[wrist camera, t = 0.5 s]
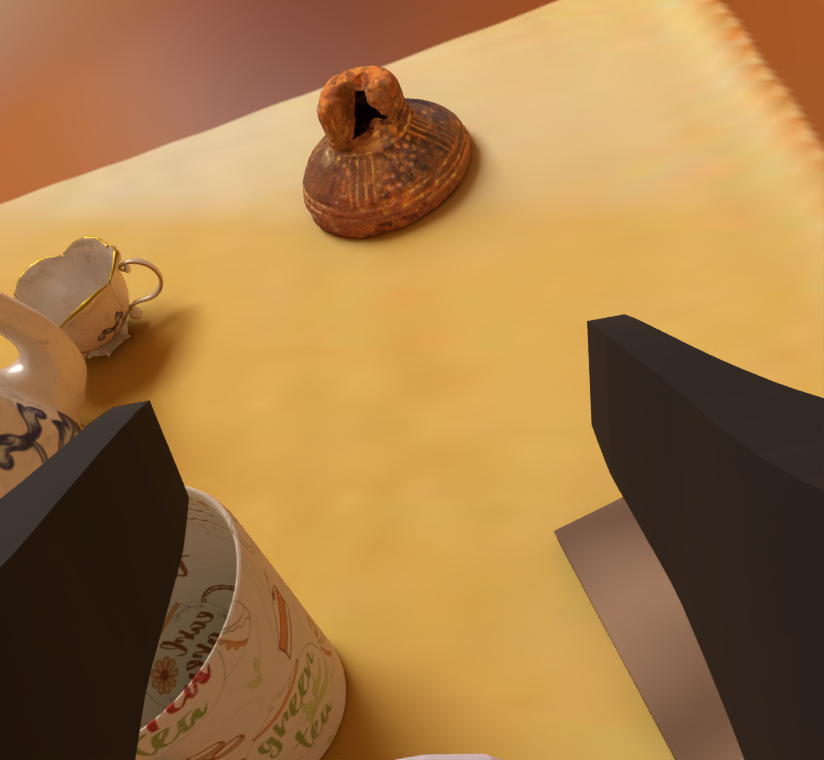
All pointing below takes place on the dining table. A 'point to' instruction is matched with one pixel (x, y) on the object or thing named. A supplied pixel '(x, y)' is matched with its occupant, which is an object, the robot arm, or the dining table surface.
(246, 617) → the mug
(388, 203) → the bell
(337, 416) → the dining table surface
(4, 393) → the chinaware
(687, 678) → the stand
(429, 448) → the dining table surface
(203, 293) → the dining table surface
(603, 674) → the dining table surface
